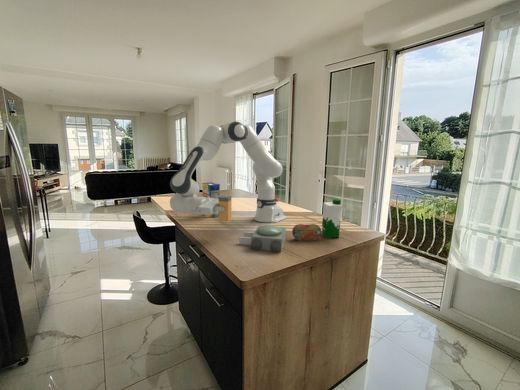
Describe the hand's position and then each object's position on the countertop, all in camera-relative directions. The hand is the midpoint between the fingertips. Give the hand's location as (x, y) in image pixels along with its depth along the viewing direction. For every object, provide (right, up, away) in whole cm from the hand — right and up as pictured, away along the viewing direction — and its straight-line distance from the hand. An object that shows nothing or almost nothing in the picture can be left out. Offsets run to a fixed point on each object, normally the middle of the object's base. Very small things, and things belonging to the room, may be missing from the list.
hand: (226, 207), depth 130 cm
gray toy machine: (+18, -18, -1) cm, 25 cm away
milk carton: (+55, -16, +13) cm, 59 cm away
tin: (+41, -17, +6) cm, 45 cm away
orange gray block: (-1, -6, +1) cm, 7 cm away
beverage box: (-16, -8, +47) cm, 51 cm away
